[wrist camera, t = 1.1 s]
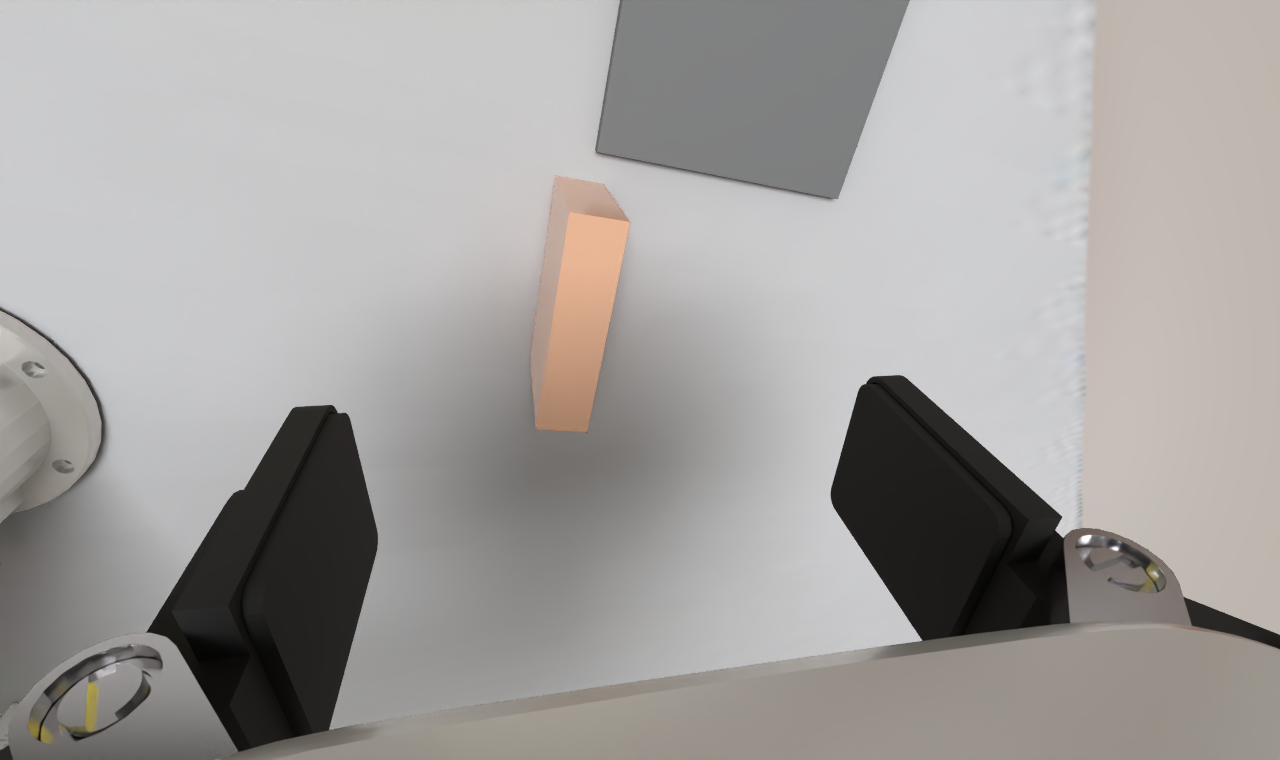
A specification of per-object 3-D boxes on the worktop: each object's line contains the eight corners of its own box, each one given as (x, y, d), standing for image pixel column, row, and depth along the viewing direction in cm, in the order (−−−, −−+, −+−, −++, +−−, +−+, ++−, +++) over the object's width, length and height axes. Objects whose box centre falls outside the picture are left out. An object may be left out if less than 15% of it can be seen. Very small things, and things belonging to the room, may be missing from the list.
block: (571, 362, 33) (587, 432, 27) (529, 358, 33) (535, 429, 27) (603, 184, 29) (630, 222, 23) (554, 175, 28) (569, 211, 22)
